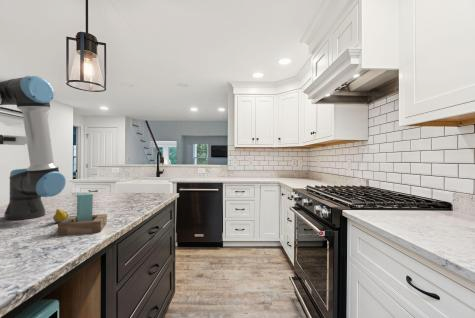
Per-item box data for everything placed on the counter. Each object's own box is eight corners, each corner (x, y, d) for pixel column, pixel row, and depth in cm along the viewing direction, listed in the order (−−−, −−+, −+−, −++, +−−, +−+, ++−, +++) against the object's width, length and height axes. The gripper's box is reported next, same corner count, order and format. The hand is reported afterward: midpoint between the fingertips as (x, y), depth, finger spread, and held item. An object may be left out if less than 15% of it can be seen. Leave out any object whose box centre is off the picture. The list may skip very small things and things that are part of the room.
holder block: (69, 225, 104) (69, 216, 104) (106, 223, 108) (106, 214, 108) (57, 235, 91) (57, 224, 91) (100, 232, 95) (100, 221, 95)
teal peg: (76, 228, 100) (77, 194, 100) (89, 226, 103) (89, 193, 103) (79, 230, 96) (79, 195, 96) (92, 228, 99) (92, 194, 100)
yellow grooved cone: (71, 221, 113) (67, 209, 106) (58, 228, 109) (53, 216, 102) (66, 213, 114) (61, 201, 108) (53, 220, 111) (47, 208, 104)
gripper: (-53, 149, 90) (23, 151, 105) (-66, 147, 72) (29, 150, 87) (-53, 128, 90) (23, 133, 105) (-65, 121, 72) (29, 128, 87)
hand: (26, 141), depth 96 cm, fingers open, 13 cm apart
